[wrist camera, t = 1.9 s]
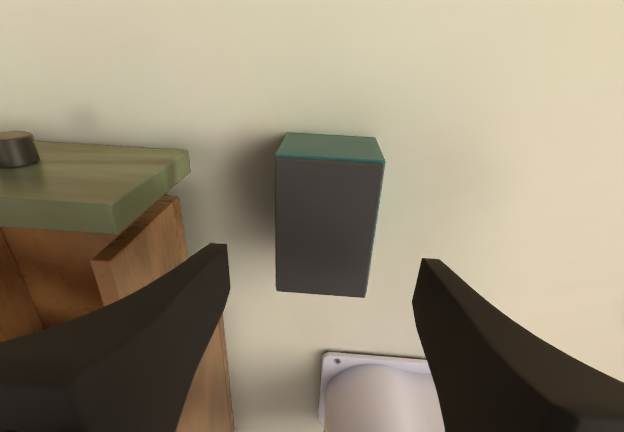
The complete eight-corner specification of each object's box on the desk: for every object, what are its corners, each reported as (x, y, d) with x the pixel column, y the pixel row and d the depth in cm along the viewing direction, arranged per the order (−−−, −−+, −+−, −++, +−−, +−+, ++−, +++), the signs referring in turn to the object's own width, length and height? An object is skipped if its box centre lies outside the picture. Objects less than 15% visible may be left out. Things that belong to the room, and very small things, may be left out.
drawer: (-51, 112, 17) (-260, 148, 11) (185, 126, 17) (101, 171, 11) (40, 325, 24) (-60, 419, 18) (212, 339, 23) (168, 441, 17)
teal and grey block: (287, 132, 18) (273, 156, 14) (375, 137, 17) (386, 163, 13) (286, 246, 21) (274, 292, 17) (360, 251, 21) (366, 300, 17)
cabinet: (31, 291, 24) (-114, 407, 16) (222, 305, 23) (165, 433, 16) (85, 419, 30) (1, 545, 23) (234, 433, 30) (199, 566, 22)
